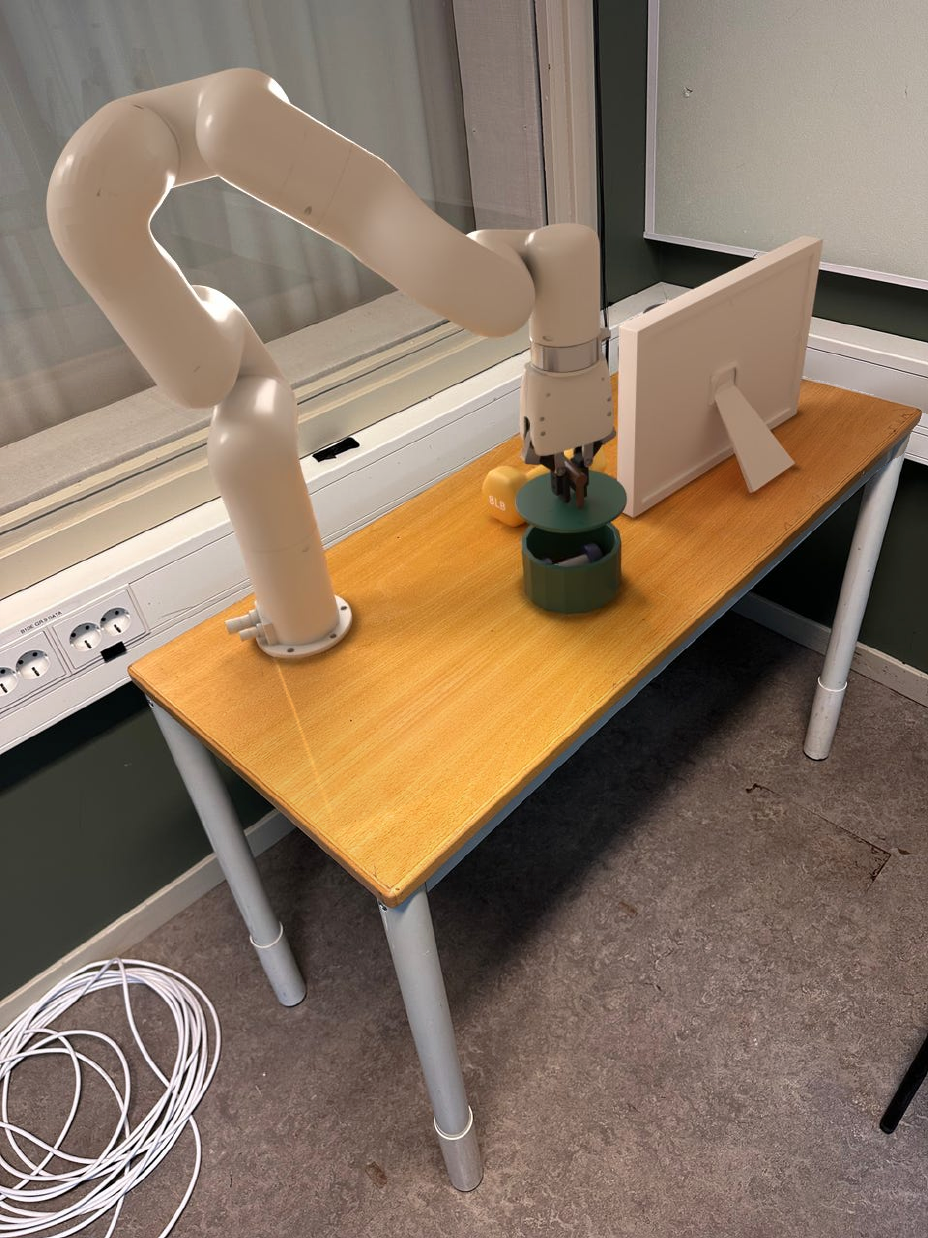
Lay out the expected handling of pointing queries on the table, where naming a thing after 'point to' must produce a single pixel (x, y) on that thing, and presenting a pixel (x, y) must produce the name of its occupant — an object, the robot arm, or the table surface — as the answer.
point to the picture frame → (715, 376)
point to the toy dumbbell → (581, 556)
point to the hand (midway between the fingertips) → (570, 494)
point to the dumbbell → (509, 481)
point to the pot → (571, 569)
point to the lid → (571, 502)
